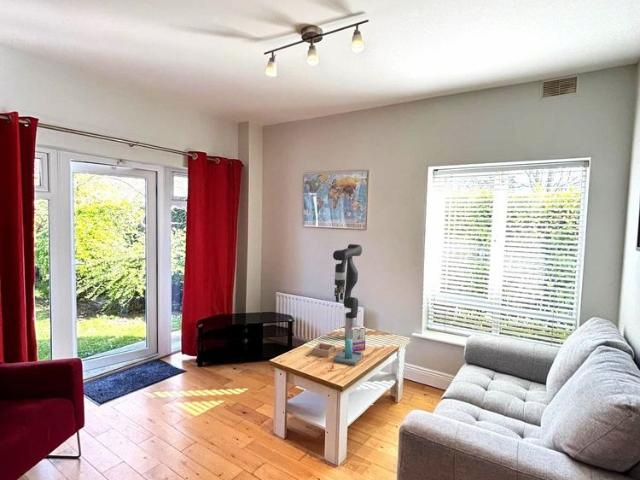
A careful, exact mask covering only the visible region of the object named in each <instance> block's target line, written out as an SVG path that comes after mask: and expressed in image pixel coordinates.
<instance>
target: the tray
mask: <svg viewBox="0 0 640 480" xmlns="http://www.w3.org/2000/svg"><path fill="white" fill-rule="evenodd" d="M363 357H364V352H362V351H352V358H351V359H346V358H345V348H342V349H341V350H340V351H339V352H338V353H337V354H336V355H334V357H333V358H332V359H333V362H334V363H338V364H343V365H349V366H354V367H356V365H358V363H359V362H360V360H361V359H362V358H363Z"/></svg>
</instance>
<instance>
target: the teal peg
mask: <svg viewBox="0 0 640 480" xmlns="http://www.w3.org/2000/svg"><path fill="white" fill-rule="evenodd" d="M344 349H345V358H346V359H351V358H352V339H345V338H344Z"/></svg>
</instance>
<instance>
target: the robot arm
mask: <svg viewBox="0 0 640 480" xmlns="http://www.w3.org/2000/svg"><path fill="white" fill-rule="evenodd" d="M362 252H363V248H362V245H360V244H354V243H351V244H348V245H347V248H344V249H337V250H335V251H334V252H333V253H332V258H333V259H334V261H340V263H336V264H335V267H334V269H335V270H334V285H335V286H336V287H334V294H333V295H334V296H333V297H335V302H336V303H339V302H340V300H341V301H342V300H343V307H344V308H346V309H350V311H347V312H346V313H345V315H344V317H345V319H344V323H345V324H344V340H345V339H349V328H351V327H358V325H357V324H358V313H359V312H358V311H359V310H358V309H359V299H358V298H357V297H353V296H351V295H352V290H353V289H354V287H355V286H356V285H357V284H358V283H357V282H358V278H359V277H358V276H359V273H358V269H357V267H356V266H355V264H354V260H353V257H360V256H361V255H362Z"/></svg>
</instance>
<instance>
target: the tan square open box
mask: <svg viewBox="0 0 640 480" xmlns="http://www.w3.org/2000/svg"><path fill="white" fill-rule="evenodd" d="M335 350H336V345H334V344H328V343H323V342H319V343H318V344H316V345H315V346H314V347H312V355H313V356H317V357H318V356H319V357H322V358H323V357H324V358H330V357H331V356H332V355H333V354H335V352H336V351H335Z"/></svg>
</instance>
